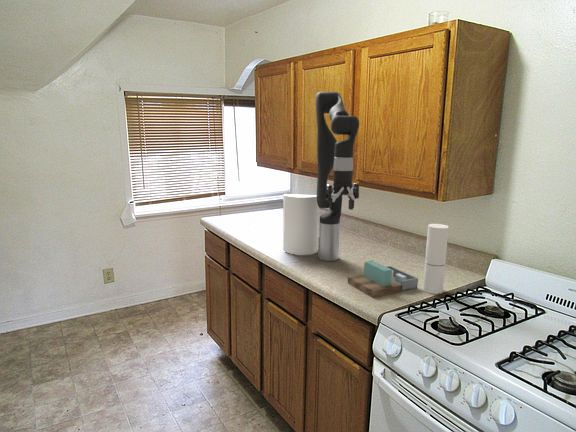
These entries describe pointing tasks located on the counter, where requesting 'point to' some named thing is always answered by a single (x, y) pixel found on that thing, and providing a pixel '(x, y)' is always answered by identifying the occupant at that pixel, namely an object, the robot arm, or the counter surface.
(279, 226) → the counter surface
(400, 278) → the blue tile
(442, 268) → the cylindrical container
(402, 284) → the tray
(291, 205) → the cylinder
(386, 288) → the board
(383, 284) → the mint green rectangular block
